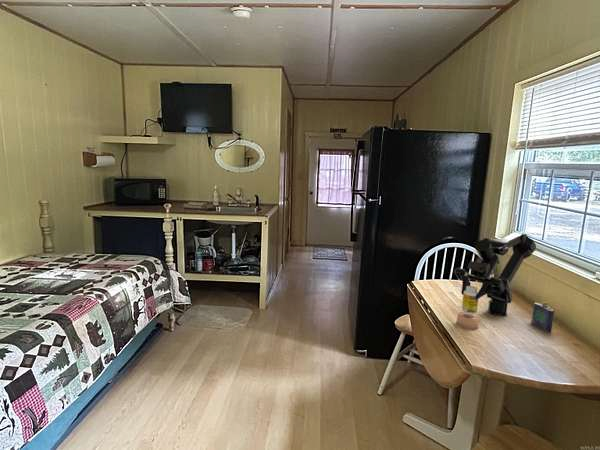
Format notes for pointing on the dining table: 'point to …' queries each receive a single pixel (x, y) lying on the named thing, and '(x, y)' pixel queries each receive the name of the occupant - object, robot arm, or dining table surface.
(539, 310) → the flask
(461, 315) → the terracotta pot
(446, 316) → the dining table surface
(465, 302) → the supplement bottle
